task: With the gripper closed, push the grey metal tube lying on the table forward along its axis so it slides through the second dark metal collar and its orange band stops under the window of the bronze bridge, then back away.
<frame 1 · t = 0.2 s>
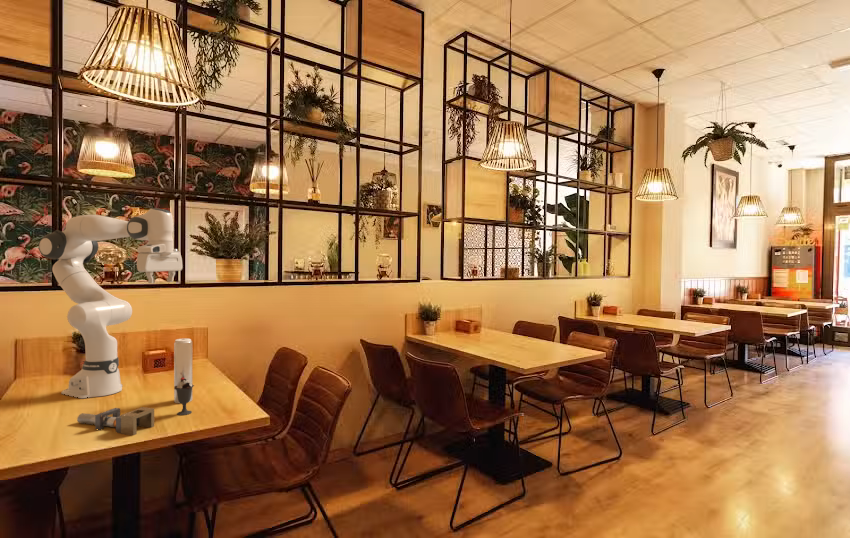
hand: (161, 282, 187), 47 cm above the table, tool pointing down, fingers open, 8 cm apart
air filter: (183, 401, 187), on the table
aperture bridge: (137, 429, 155), on the table
sundae: (184, 413, 172), on the table
collar a: (108, 426, 158), on the table
collar b: (128, 428, 156), on the table
tube: (102, 425, 159), on the table
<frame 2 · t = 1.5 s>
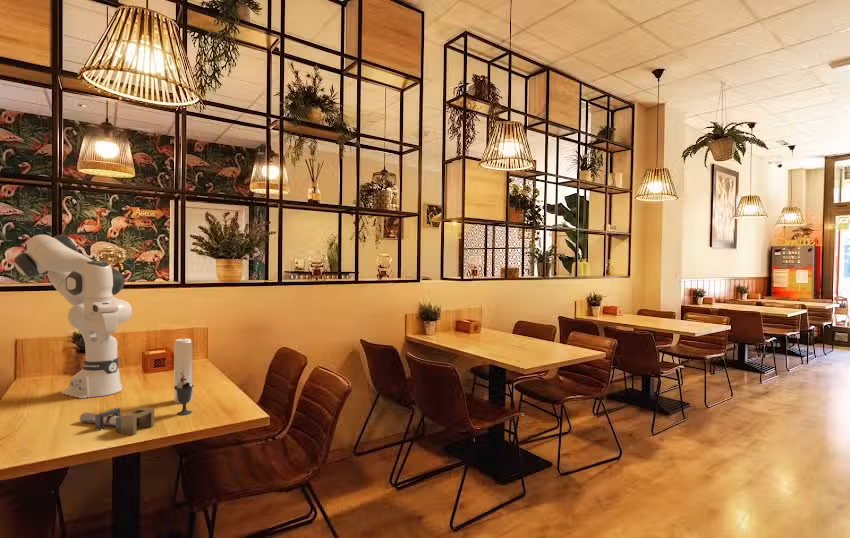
hand: (99, 343, 169), 26 cm above the table, tool pointing down, fingers open, 8 cm apart
tube: (102, 424, 159), on the table, tilted 35°, touching collar a
everything else where it was.
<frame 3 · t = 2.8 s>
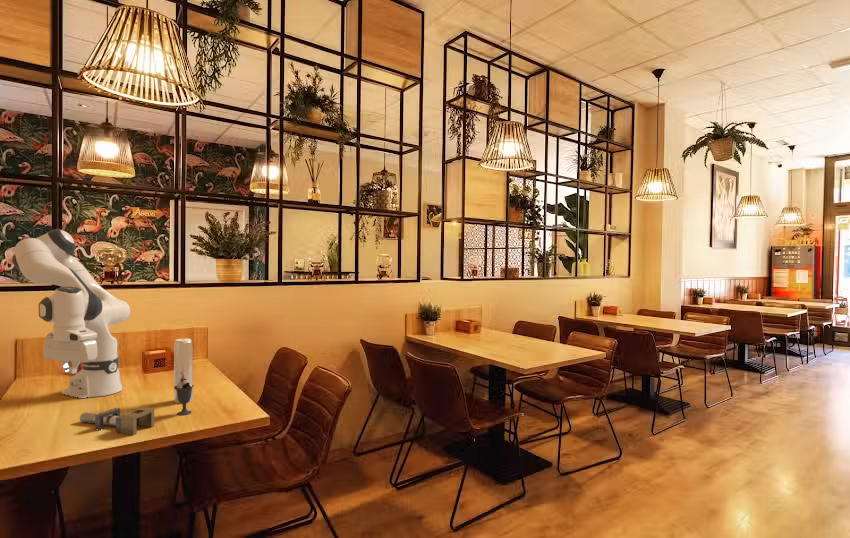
hand: (69, 372, 162), 17 cm above the table, tool pointing down, fingers closed
nothing on the table moved.
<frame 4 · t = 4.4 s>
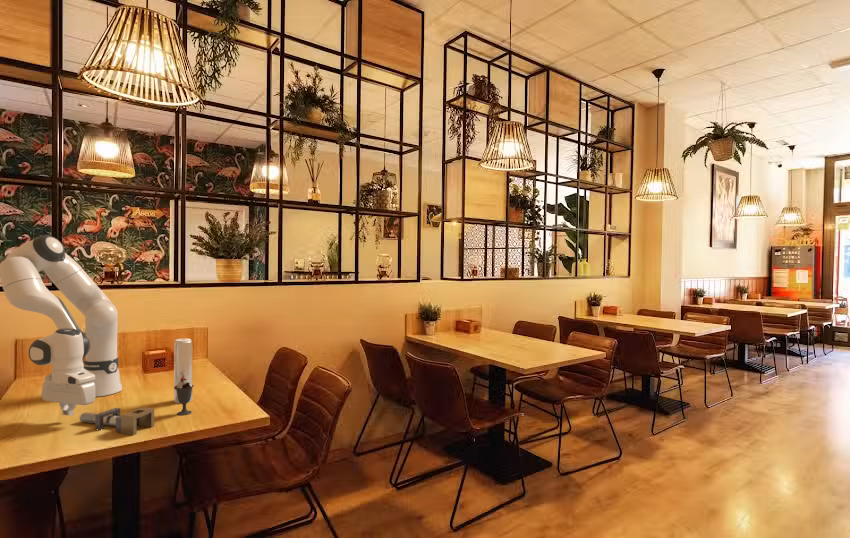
hand: (68, 414, 162), 2 cm above the table, tool pointing down, fingers closed
nothing on the table moved.
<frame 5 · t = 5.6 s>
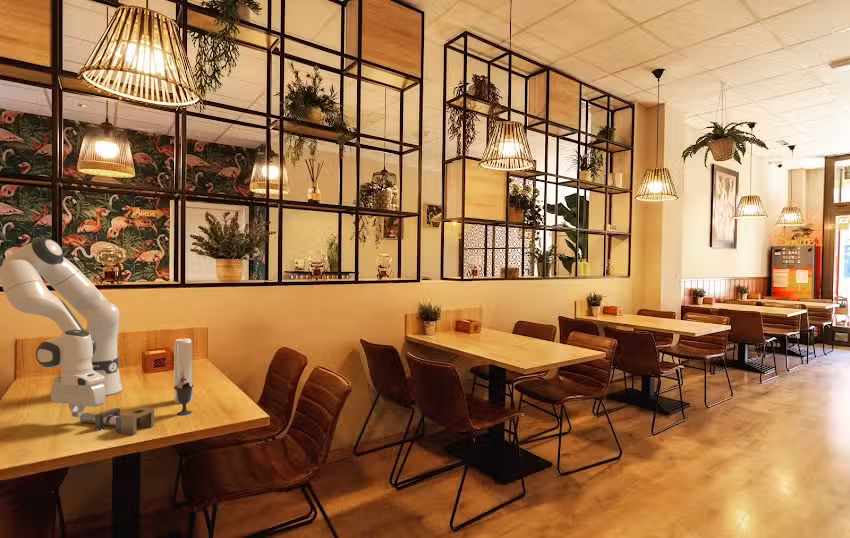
hand: (77, 416, 161), 2 cm above the table, tool pointing down, fingers closed
tube: (102, 424, 159), on the table, tilted 35°, touching gripper
everything else where it was.
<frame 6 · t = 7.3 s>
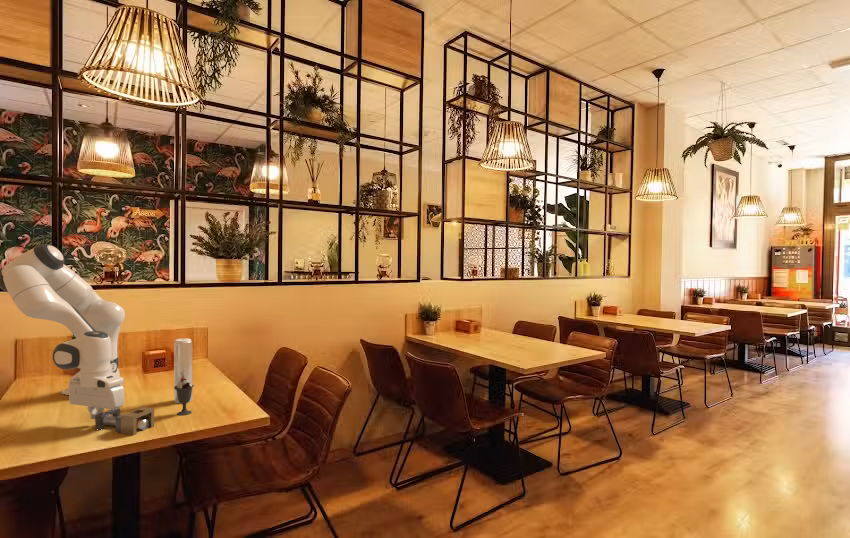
hand: (96, 418, 159), 2 cm above the table, tool pointing down, fingers closed
tube: (121, 426, 157), on the table, tilted 35°, touching gripper
everything else where it was.
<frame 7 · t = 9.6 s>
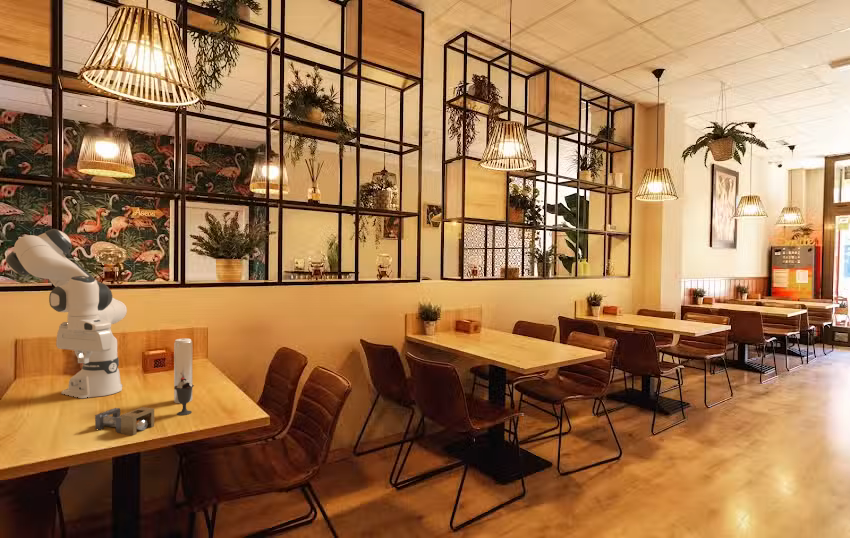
hand: (83, 362, 161), 21 cm above the table, tool pointing down, fingers closed
tube: (121, 427, 157), on the table, tilted 12°
everything else where it was.
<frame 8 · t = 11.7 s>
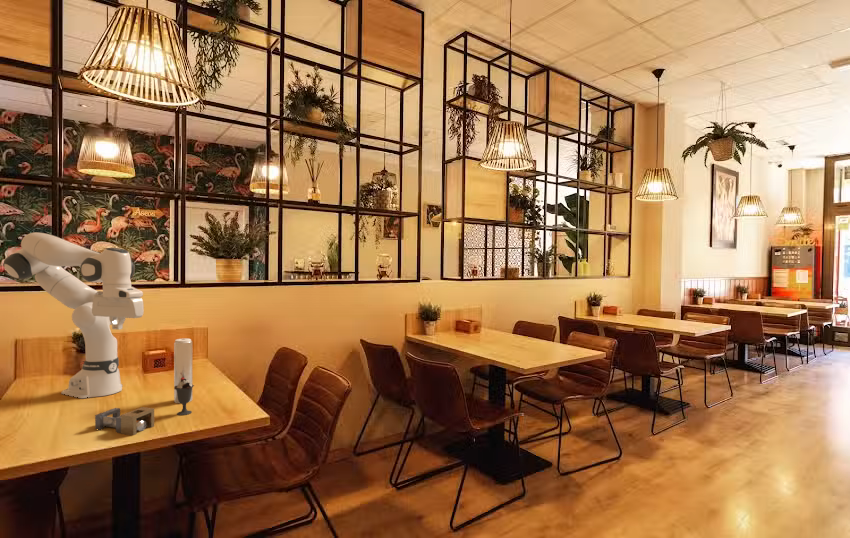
hand: (117, 329, 171), 31 cm above the table, tool pointing down, fingers closed
tube: (121, 427, 157), on the table, tilted 5°
everything else where it was.
at the end: tube 0.1 cm from the target spot, on the table; the gripper is holding nothing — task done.
